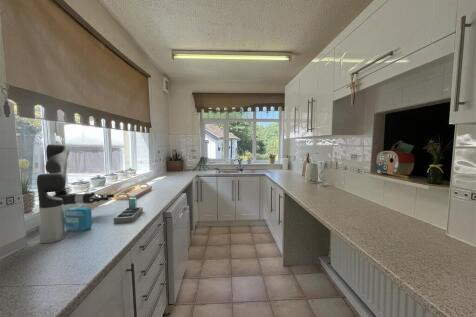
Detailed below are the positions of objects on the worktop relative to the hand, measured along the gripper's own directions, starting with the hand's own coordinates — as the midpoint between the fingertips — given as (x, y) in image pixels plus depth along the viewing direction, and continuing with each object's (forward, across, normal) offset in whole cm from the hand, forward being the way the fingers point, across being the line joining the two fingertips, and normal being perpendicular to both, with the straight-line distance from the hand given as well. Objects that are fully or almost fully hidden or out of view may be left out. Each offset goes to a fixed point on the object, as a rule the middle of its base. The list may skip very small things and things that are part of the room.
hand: (111, 197), depth 150 cm
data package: (-8, -24, +13) cm, 29 cm away
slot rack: (+14, -6, +12) cm, 19 cm away
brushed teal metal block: (+14, 0, +11) cm, 18 cm away
